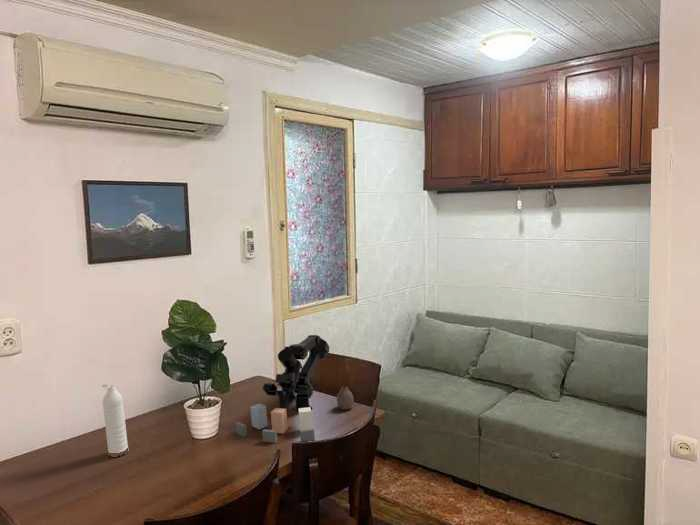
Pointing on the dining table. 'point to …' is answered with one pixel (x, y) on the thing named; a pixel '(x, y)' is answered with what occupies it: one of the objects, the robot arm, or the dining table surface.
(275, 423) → the salmon rectangular block
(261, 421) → the gray rectangular block
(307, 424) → the cream rectangular block
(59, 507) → the dining table surface
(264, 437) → the block
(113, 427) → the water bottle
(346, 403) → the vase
